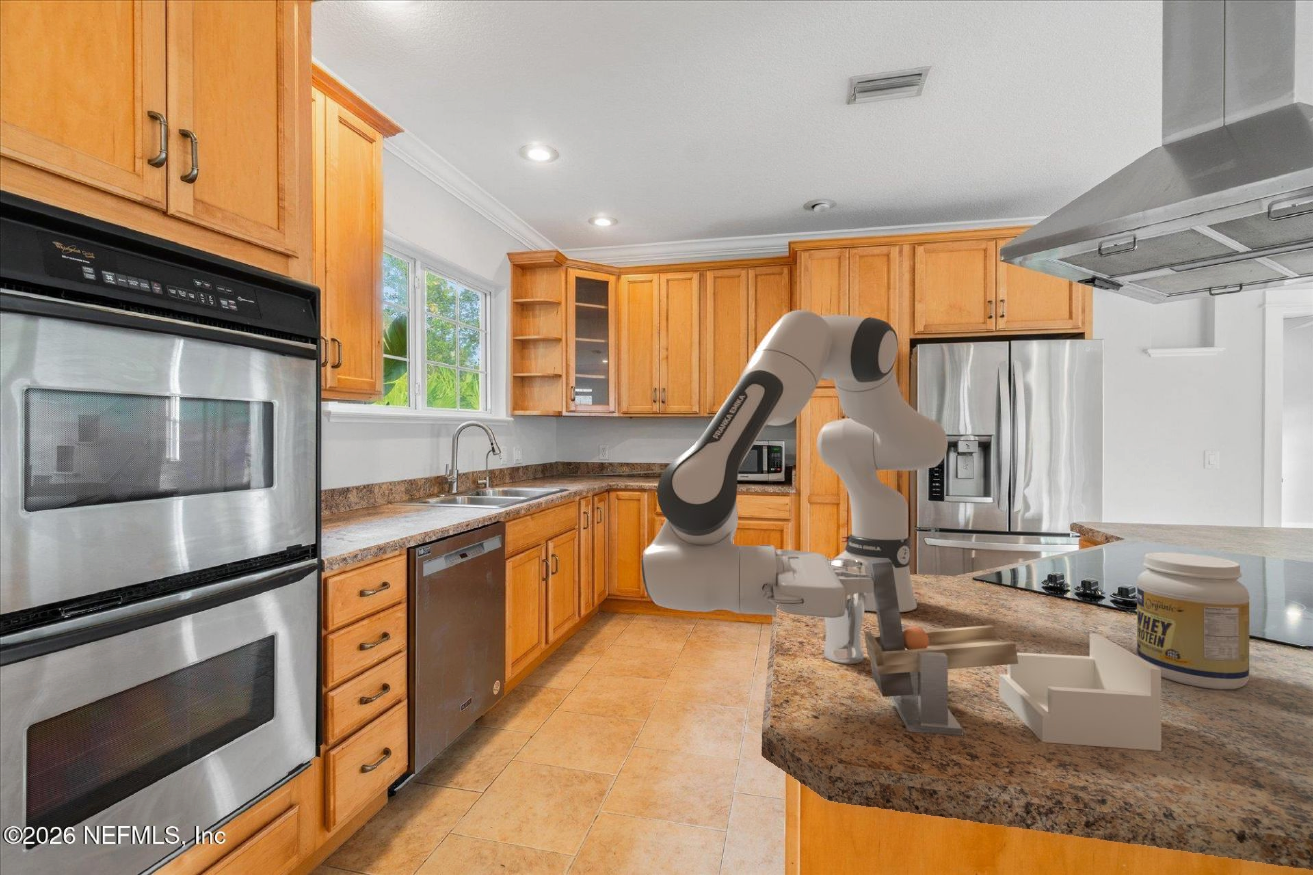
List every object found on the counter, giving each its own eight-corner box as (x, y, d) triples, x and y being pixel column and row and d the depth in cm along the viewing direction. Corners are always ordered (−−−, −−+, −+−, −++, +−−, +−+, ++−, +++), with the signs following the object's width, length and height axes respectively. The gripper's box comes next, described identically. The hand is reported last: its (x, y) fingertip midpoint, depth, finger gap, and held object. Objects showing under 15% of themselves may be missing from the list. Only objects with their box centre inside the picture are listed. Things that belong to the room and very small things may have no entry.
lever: (882, 700, 72) (863, 569, 72) (870, 674, 79) (852, 556, 80) (1024, 690, 69) (1003, 555, 69) (996, 664, 77) (977, 543, 77)
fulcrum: (908, 731, 69) (907, 655, 69) (886, 689, 81) (885, 624, 81) (962, 735, 68) (962, 658, 68) (932, 692, 80) (932, 626, 80)
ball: (900, 654, 75) (893, 630, 75) (915, 645, 77) (908, 621, 77) (921, 658, 73) (914, 633, 73) (937, 648, 74) (930, 623, 74)
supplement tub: (1117, 657, 93) (1117, 549, 93) (1201, 660, 91) (1200, 551, 91) (1178, 690, 80) (1177, 566, 80) (1276, 694, 79) (1275, 568, 79)
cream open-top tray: (1042, 741, 67) (1042, 662, 67) (999, 696, 79) (998, 629, 79) (1161, 750, 65) (1160, 669, 65) (1098, 702, 77) (1098, 633, 77)
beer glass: (834, 645, 98) (833, 556, 98) (874, 656, 93) (874, 562, 93) (812, 656, 93) (811, 562, 93) (853, 669, 88) (853, 569, 88)
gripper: (763, 573, 68) (889, 578, 65) (761, 542, 88) (857, 544, 86) (764, 628, 68) (890, 634, 65) (761, 584, 88) (857, 588, 86)
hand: (871, 583), depth 76 cm, fingers closed
